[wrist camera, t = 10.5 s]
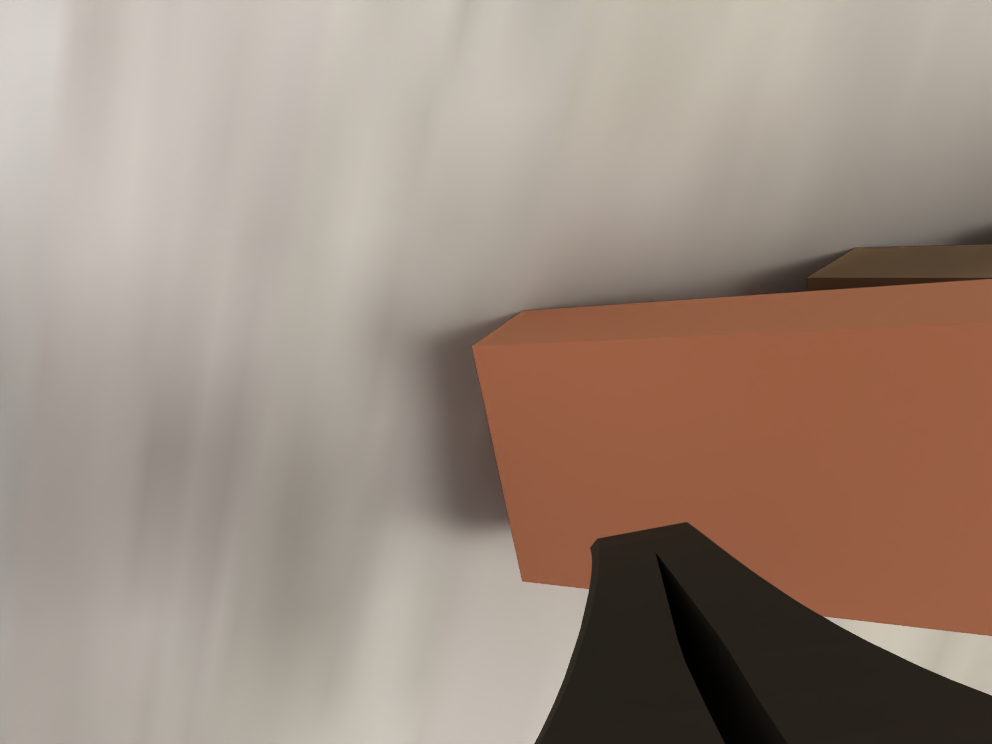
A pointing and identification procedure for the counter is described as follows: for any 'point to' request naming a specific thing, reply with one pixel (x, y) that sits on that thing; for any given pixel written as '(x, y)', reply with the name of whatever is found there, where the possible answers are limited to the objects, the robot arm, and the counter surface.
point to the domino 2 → (904, 266)
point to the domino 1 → (762, 440)
